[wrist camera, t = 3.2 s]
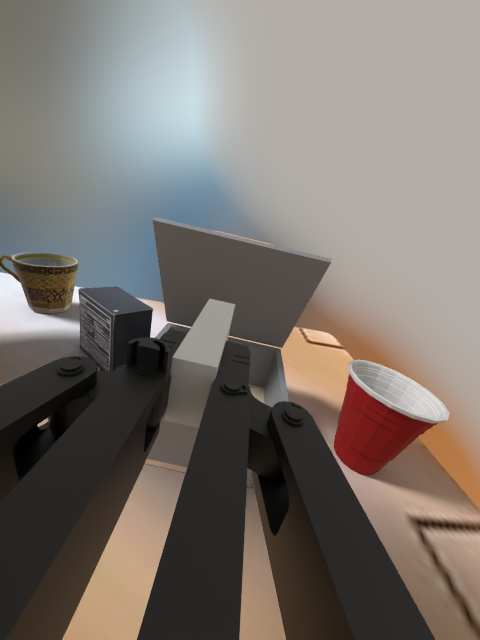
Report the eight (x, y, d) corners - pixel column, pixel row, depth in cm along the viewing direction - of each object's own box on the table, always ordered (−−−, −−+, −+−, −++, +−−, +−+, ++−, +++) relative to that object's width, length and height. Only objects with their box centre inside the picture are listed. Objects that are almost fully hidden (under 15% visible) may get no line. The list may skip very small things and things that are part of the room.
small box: (150, 366, 41) (156, 307, 37) (110, 381, 36) (112, 315, 32) (117, 338, 46) (118, 284, 42) (78, 347, 41) (76, 287, 37)
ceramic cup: (87, 302, 57) (86, 259, 53) (65, 320, 48) (62, 270, 44) (21, 292, 54) (16, 246, 50) (-15, 310, 45) (-25, 255, 41)
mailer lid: (152, 220, 25) (156, 214, 25) (166, 321, 38) (169, 316, 39) (331, 262, 25) (330, 256, 26) (282, 347, 39) (282, 342, 39)
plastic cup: (415, 475, 32) (467, 404, 28) (370, 514, 26) (427, 432, 22) (346, 415, 40) (377, 352, 36) (300, 434, 34) (330, 362, 30)
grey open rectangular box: (104, 454, 26) (105, 394, 23) (162, 365, 42) (167, 323, 38) (272, 491, 26) (295, 437, 23) (267, 389, 42) (280, 349, 39)
